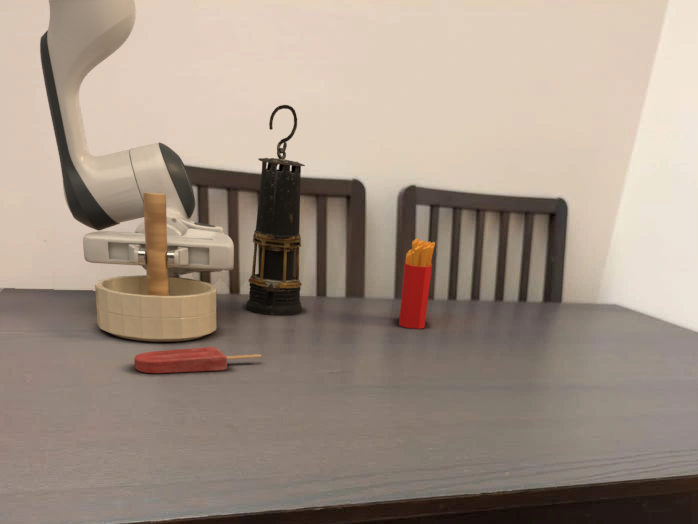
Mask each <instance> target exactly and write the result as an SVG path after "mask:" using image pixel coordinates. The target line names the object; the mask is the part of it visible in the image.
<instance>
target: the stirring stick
mask: <svg viewBox="0 0 698 524" xmlns="http://www.w3.org/2000/svg"><path fill="white" fill-rule="evenodd" d="M143 199H144V217H143V218H144V219H143V220H144V224H145V249H146V270H145V271H146V276H147V295H155V296H169V284H168V266H167V260H168V258H167V252H168V249H167V214H166V194H164V193H155V192H143Z"/></svg>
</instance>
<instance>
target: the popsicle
mask: <svg viewBox="0 0 698 524" xmlns="http://www.w3.org/2000/svg"><path fill="white" fill-rule="evenodd" d="M262 357H263V356H262V354H259V353H256V354H255V353H254V354H253V353H252V354H240V355H239V354H237V355H225V353H223V352H222V351H221V350H220V349H219V348H218V347H216V346H207V347H206V346H205V347H192V348H182V349H168V350H167V349H166V350H156V351H148V352H146V351H145V352H141V353H138V354H136V355H135V356H134V358H133V360H134V361H133V362H134V369H135V370H136V371H138V372H141V373H145V374H175V373H196V372H219V371H227V369H228V361H229V360H240V359H241V360H243V359H257V358H258V359H259V358H262Z"/></svg>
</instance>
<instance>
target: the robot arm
mask: <svg viewBox="0 0 698 524" xmlns="http://www.w3.org/2000/svg"><path fill="white" fill-rule="evenodd" d="M135 2H136V1H135V0H48V6H49V20H48V21H49V22H48V26H47V30H46V31H45V32H44V33H43V34H42V35H41V37H40V41H39V42H40V43H39V53H40V63H41V69H42V74H43V81H44V87H45V92H46V97H47V102H48V107H49V112H50V117H51V122H52V128H53V132H54V137H55V143H56V148H57V153H58V157H59V163H60V170H61V177H62V191H63V197H64V199H65V204H66V206H67V208H68V210H69V212H70V213H71V215H72V217H73V219H75V221H77V222H79V223H80V224H82V225H84V226H85V227H88V228H90V229H93V230H96V231H92V232H88V233H86V234H84V235H83V236H82V248H83V257H84V260H85V262H88V263H92V264H106V265H120V266H121V265H125V266H127V265H128V266H140V267H142V268H143V269H144V270H145V271H146V249H145V224H144V219H143V220H142V221H141V222H140V223H139V224H138V225H137V227H136V228H135V231H134V232H130V231H129V232H128V231H114V230H113V231H111V230H105V229H108V228H112V227H115V226H118V225H120V224H121V223H125V222H130V221H134V220H138V219H142V218H144V199H143V192H155V193H164V194H166V214H167V249H168V252H167V258H168V260H167V266H168V276H170V277H178V276H184V275H189V274H192V273H217V272H218V273H220V272H223V271H228V272H229V271H233V270H234V265H235V249H234V248H235V246H234V245H235V244H234V242H233V240H232V238H231V237H230V236H229V235H228V234H226V233H225V231H224V228H223V227H222V226H218V225H214V224H208V223H203V222H196V221H193V220H192V219H191V218H192V217H193V214H194V211H195V208H196V198H195V193H194V189H193V185H192V181H191V179H190V175H189V173H188V170H187V168H186V165H185V164H184V162H183V160H182V158H181V157H180V155H179V154H178V153H177V152H176V151H175V150H173V149H172V148H171V147H170V146H168V145H167V144H165V143H164V142H163V143H162V142H155V143H150V144H146V145H140V146H137V147H131V148H129V149H126V150H122V151H117V152H113V153H109V154H104V155H98V156H96V155H92V154H91V153H90V152H89V146H88V140H87V135H86V130H85V125H84V119H83V114H82V109H81V104H80V89H81V86H82V83H83V82H84V80H85V78H86V76H88V74H89V73H90V72H91V71H92V70H93V69H95V68H96V67H97V66H98V65H100V64H101V63H102V62H104V61H105V60H106V59H108V58H109V57H110V56H111V55H113V54H114V53H116V52H117V51H118V50H119V49H120V48H121V47H122V46H123V45H124V44H125V42H126V41H127V40H128V38H129V37H130V36H131V33H132V32H133V30H134V26H135V22H136V18H137V9H136V3H135Z"/></svg>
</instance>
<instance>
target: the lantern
mask: <svg viewBox="0 0 698 524" xmlns="http://www.w3.org/2000/svg"><path fill="white" fill-rule="evenodd" d="M284 109H285V110H289V111H290V113H292V116H293V128H292V129H291V132H290V133H289V134H288V135H287V137H283V138H282V139H281V140H280V141H278V143H277V144H276V156H277V158H276V157H275V158H274V157H270V158H269V157H263V158H262V157H260V158H259V157H258V158H257V160H258V161H260V162H261V174H260V183H259V185H260V187H259V196H258V206H257V215H256V222H255V230H254V231H253V232H254V233H253V235H252V243H253V258H252V269H251V275H250V277H249V278H248V280H247V282H248V283H249V285H248V286H249V293H248V294H249V298H248V300H247V301H246V306H245V307H246V309H247V310H249V311H250V312H254V313H258V314H261V315H262V314H263V315H273V316H290V315H296V314H297V315H298V314H300V313H301V312H302V311H303V310H302V309H303V308H302V303H301V287H302V285H303V284H302V282H301V280H300V248H301V247H302V240H301V239H302V238H301V234H300V227H301V226H300V224H301V223H300V221H301V220H300V219H301V178H302V177H301V176H302V175H301V174H302V167H306V165H305V164H303V163H301V162H299V161H294V160H290V159H286V158H287V152H286V150H287V147H288V144H287V142H289V141H290V140H291V139H292V138H293V137H294V135H295V133H296V131H297V127H298V116H297V112H296V109H295V108H293V107H292V106H291V105H288V104H280V105H279V106H277V107H275V108H274V110H273V111H272V112H271V114H270V117H269V122H268V124H269V126H268V127H269V131H270V130H271V131H272V130H273V123H274V118H275V115H276V114H277V113H278V111H280V110H284ZM282 144H283V145H282ZM281 146H282V147H281ZM258 248H259V249H258ZM295 250H296V270H295V271H296V273H295V276H294V266H295V265H294V263H295ZM257 255H258V273H256V265H257Z"/></svg>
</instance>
